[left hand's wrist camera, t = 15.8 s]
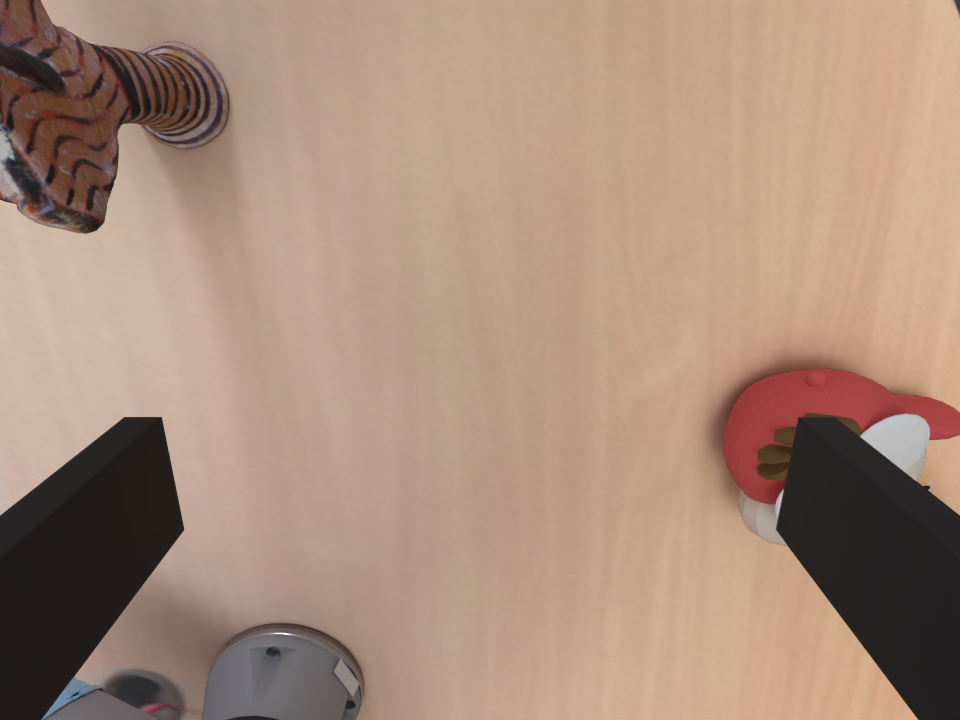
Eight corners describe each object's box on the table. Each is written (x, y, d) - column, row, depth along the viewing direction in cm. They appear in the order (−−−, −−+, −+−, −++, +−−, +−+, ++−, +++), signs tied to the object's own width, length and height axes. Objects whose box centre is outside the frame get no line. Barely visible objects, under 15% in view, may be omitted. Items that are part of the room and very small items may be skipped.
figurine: (72, 13, 41) (-817, -253, 13) (165, -45, 40) (-588, -476, 12) (198, 213, 46) (-253, 339, 18) (285, 167, 44) (-49, 221, 16)
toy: (864, 710, 53) (732, 483, 41) (792, 619, 62) (668, 413, 50) (1060, 601, 51) (982, 329, 39) (956, 524, 60) (868, 286, 48)
